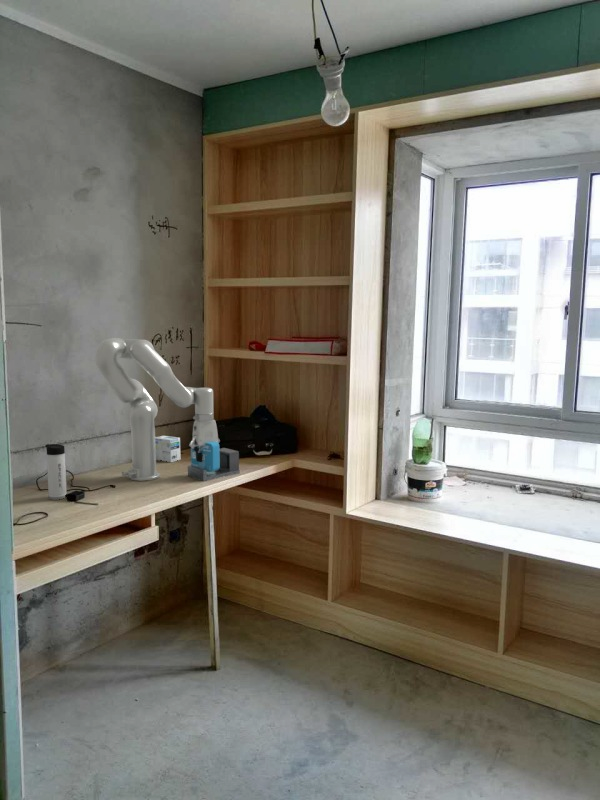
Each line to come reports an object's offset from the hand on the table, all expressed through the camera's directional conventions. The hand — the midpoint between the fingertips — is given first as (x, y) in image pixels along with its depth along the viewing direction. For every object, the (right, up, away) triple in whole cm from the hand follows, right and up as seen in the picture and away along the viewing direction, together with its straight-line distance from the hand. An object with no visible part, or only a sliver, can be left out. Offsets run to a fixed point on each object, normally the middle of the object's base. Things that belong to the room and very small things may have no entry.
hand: (205, 460), depth 264 cm
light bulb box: (-22, -3, +31) cm, 39 cm away
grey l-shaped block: (+3, -7, +4) cm, 8 cm away
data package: (0, -4, +1) cm, 4 cm away
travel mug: (-50, -11, -31) cm, 60 cm away
